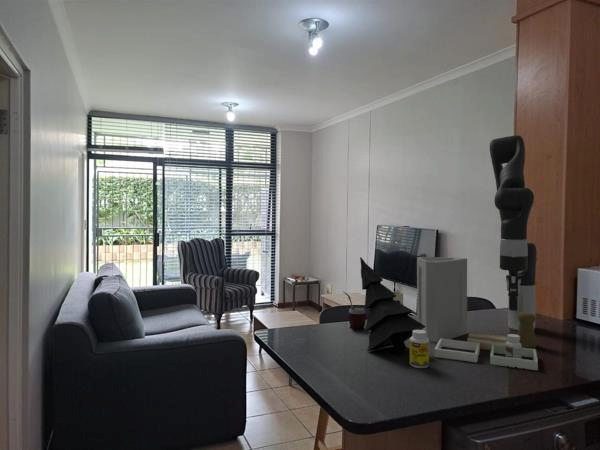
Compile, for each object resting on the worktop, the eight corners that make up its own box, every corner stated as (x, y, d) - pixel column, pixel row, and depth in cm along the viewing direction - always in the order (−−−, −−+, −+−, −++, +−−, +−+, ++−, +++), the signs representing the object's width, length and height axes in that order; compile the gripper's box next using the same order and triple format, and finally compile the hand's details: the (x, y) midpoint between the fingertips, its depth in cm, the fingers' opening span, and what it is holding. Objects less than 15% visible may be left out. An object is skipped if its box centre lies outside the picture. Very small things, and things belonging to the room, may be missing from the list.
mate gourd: (369, 327, 170) (368, 290, 170) (360, 332, 164) (360, 293, 163) (351, 325, 174) (351, 288, 174) (343, 330, 168) (342, 291, 167)
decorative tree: (404, 355, 147) (365, 266, 163) (432, 339, 136) (387, 245, 153) (371, 363, 139) (333, 268, 156) (398, 347, 129) (354, 247, 145)
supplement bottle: (409, 367, 126) (409, 333, 126) (410, 361, 131) (410, 328, 131) (429, 369, 124) (429, 334, 124) (429, 363, 130) (429, 329, 129)
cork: (539, 348, 143) (539, 315, 143) (519, 347, 144) (519, 314, 144) (533, 342, 149) (533, 311, 149) (514, 341, 150) (514, 310, 150)
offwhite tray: (440, 345, 147) (440, 338, 147) (479, 350, 141) (479, 342, 141) (434, 356, 135) (434, 348, 135) (477, 362, 130) (477, 354, 130)
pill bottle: (502, 358, 133) (502, 333, 133) (516, 358, 134) (516, 333, 133) (510, 363, 129) (510, 337, 129) (524, 363, 129) (524, 337, 129)
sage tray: (491, 351, 140) (491, 344, 140) (535, 357, 134) (535, 349, 134) (490, 364, 128) (490, 355, 128) (537, 370, 123) (537, 361, 123)
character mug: (393, 329, 168) (393, 295, 168) (378, 325, 173) (378, 293, 173) (409, 324, 175) (409, 292, 175) (395, 321, 181) (395, 290, 180)
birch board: (469, 337, 155) (469, 332, 155) (506, 341, 150) (506, 336, 150) (466, 347, 145) (466, 341, 145) (506, 352, 139) (506, 345, 139)
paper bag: (434, 325, 173) (434, 255, 172) (468, 333, 161) (468, 258, 161) (403, 333, 162) (402, 259, 161) (437, 342, 150) (436, 262, 149)
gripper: (500, 251, 139) (500, 302, 139) (499, 255, 126) (498, 311, 126) (526, 252, 135) (526, 304, 136) (528, 256, 122) (527, 313, 123)
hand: (513, 307), depth 131 cm, fingers open, 8 cm apart
